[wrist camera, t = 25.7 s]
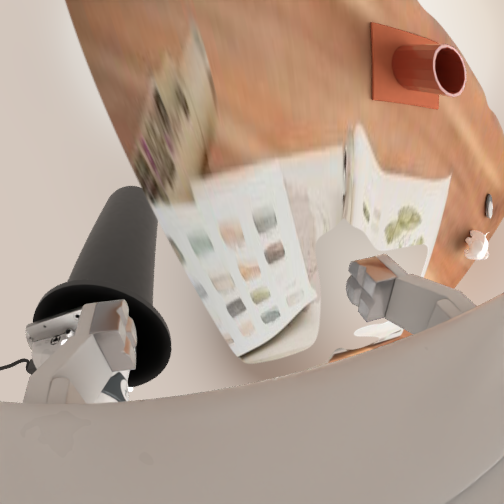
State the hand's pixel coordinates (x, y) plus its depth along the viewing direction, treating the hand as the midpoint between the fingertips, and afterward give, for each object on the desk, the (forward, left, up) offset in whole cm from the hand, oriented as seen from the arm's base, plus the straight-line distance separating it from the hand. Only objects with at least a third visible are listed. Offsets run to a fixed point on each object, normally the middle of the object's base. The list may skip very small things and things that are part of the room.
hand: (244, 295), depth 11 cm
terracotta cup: (+32, +12, -29) cm, 45 cm away
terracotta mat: (+32, +12, -29) cm, 45 cm away
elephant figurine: (+57, -21, -29) cm, 67 cm away
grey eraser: (+62, -13, -29) cm, 70 cm away
